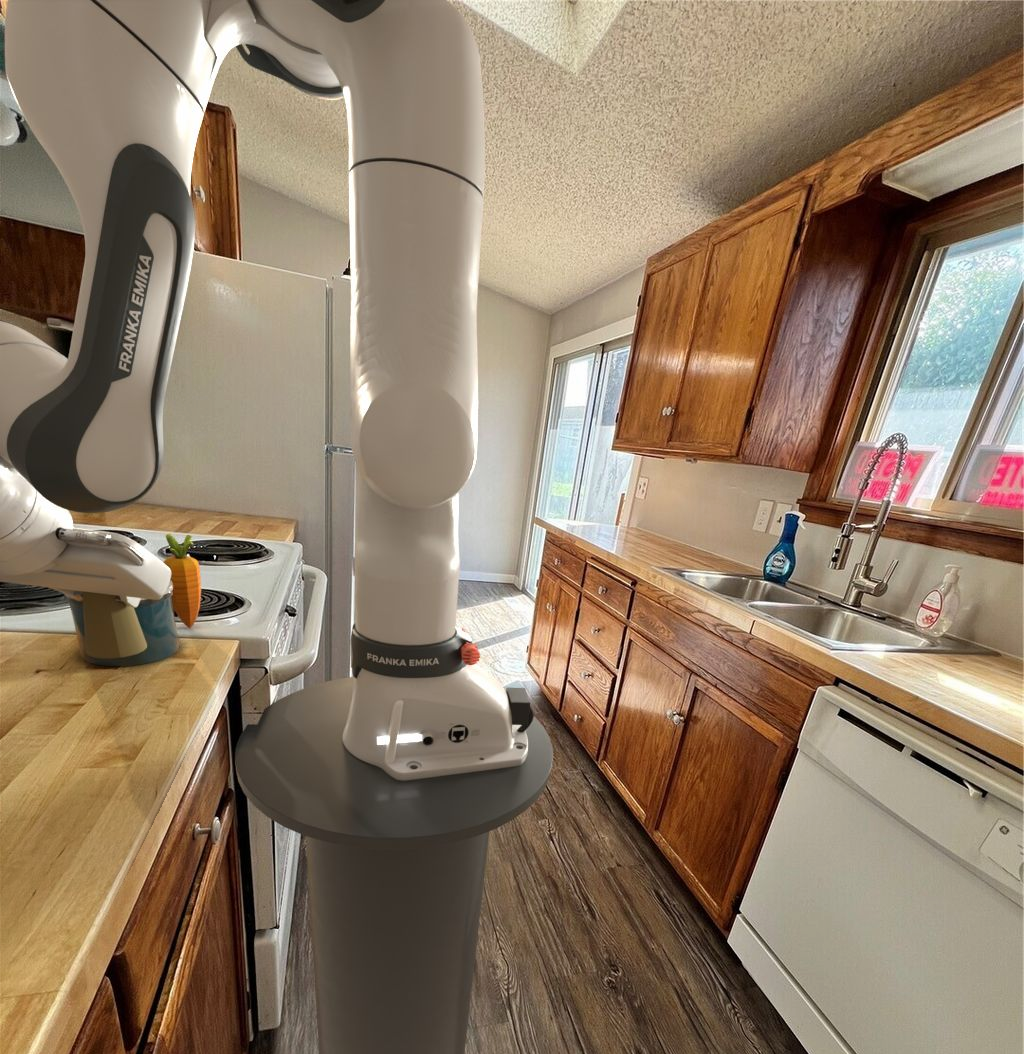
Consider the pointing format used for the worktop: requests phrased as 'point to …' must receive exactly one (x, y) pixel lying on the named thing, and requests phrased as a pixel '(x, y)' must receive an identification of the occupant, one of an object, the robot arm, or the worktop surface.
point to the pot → (153, 623)
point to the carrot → (184, 581)
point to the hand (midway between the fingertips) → (110, 598)
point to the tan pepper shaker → (110, 627)
